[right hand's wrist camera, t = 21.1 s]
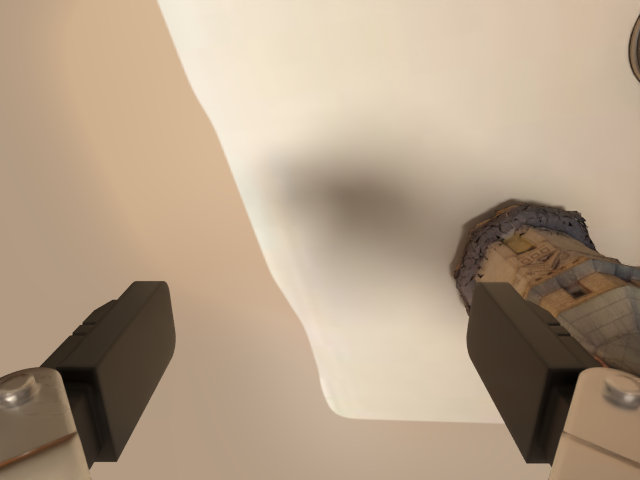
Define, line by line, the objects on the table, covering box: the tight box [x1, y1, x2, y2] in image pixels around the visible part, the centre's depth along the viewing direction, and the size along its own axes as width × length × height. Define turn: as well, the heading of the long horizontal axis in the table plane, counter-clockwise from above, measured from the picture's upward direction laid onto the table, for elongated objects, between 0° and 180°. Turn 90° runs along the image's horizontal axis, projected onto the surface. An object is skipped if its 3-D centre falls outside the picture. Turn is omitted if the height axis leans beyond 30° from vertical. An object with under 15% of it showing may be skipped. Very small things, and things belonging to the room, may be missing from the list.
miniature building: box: [454, 203, 640, 378], centre depth 31 cm, size 13×14×30 cm
